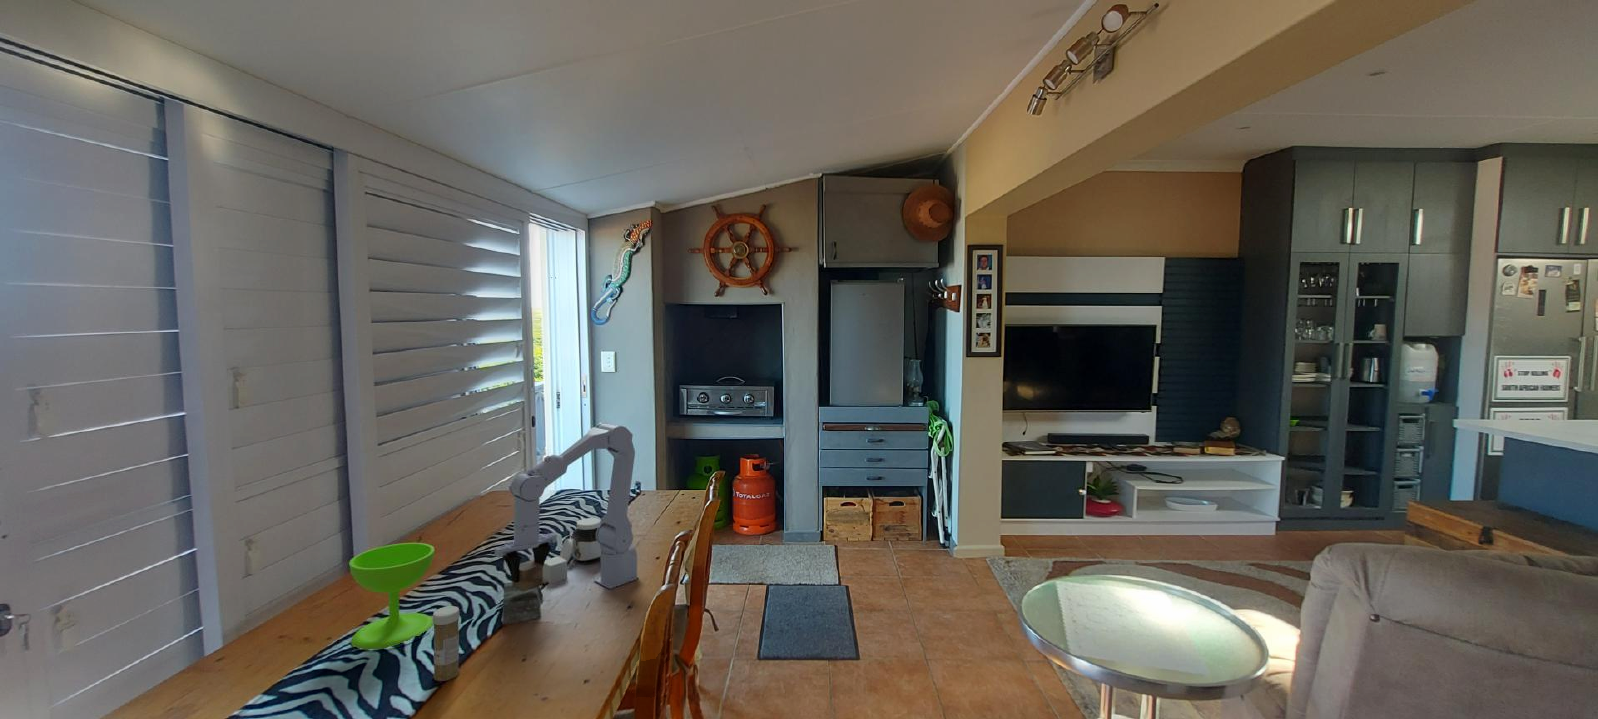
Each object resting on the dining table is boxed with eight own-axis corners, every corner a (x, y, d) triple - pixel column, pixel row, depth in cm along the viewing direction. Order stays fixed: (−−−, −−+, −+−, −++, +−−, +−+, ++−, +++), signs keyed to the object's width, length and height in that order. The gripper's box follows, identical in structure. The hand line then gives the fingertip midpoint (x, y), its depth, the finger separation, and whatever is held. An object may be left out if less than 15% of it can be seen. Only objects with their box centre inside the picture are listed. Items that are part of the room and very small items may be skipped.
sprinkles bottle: (430, 676, 119) (429, 610, 119) (454, 666, 123) (454, 602, 122) (438, 685, 116) (437, 618, 116) (463, 675, 120) (462, 610, 119)
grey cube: (557, 573, 170) (557, 556, 170) (567, 578, 167) (567, 560, 167) (541, 578, 166) (541, 561, 166) (550, 583, 163) (550, 566, 163)
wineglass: (451, 622, 141) (450, 548, 140) (385, 657, 126) (383, 574, 125) (402, 611, 146) (401, 539, 145) (332, 643, 131) (331, 562, 130)
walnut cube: (532, 579, 150) (532, 559, 150) (542, 584, 147) (542, 565, 147) (512, 585, 146) (512, 565, 146) (522, 591, 143) (522, 571, 143)
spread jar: (609, 558, 181) (610, 521, 181) (578, 571, 172) (578, 531, 171) (584, 550, 188) (584, 514, 187) (552, 561, 178) (552, 523, 178)
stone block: (542, 595, 157) (542, 576, 157) (543, 620, 144) (543, 598, 144) (504, 600, 153) (504, 580, 153) (502, 626, 140) (502, 604, 140)
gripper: (504, 534, 138) (504, 592, 139) (563, 520, 149) (562, 573, 150) (490, 527, 142) (490, 583, 143) (548, 514, 154) (548, 565, 154)
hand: (526, 577), depth 147 cm, fingers closed on walnut cube, 5 cm apart
